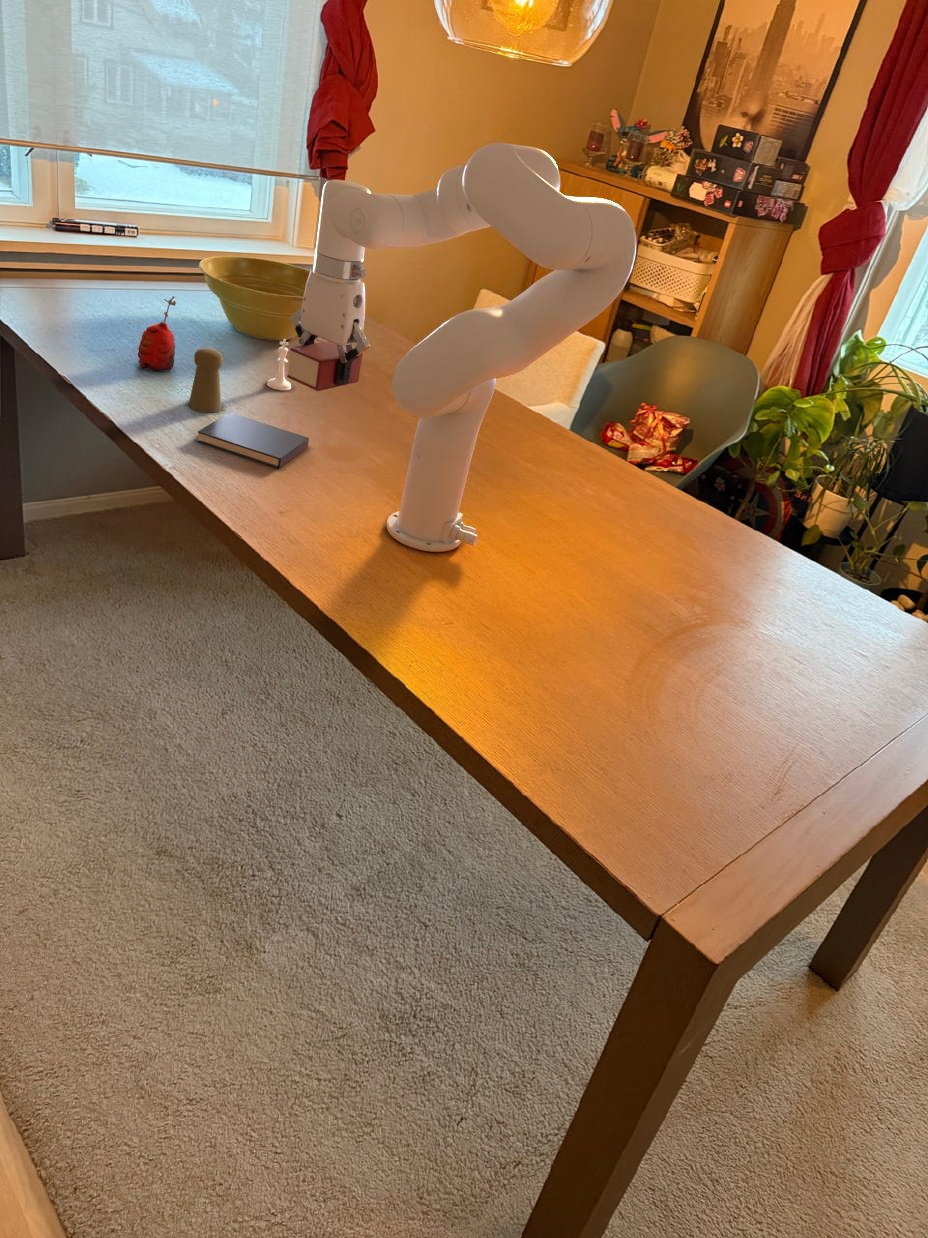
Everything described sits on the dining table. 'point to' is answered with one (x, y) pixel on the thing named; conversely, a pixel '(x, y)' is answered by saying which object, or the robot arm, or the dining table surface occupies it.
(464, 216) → the robot arm
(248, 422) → the slate hardcover
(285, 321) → the planter bowl
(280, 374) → the chess piece
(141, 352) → the red clay folk toy
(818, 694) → the dining table surface
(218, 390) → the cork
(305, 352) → the pocket dictionary
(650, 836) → the dining table surface
